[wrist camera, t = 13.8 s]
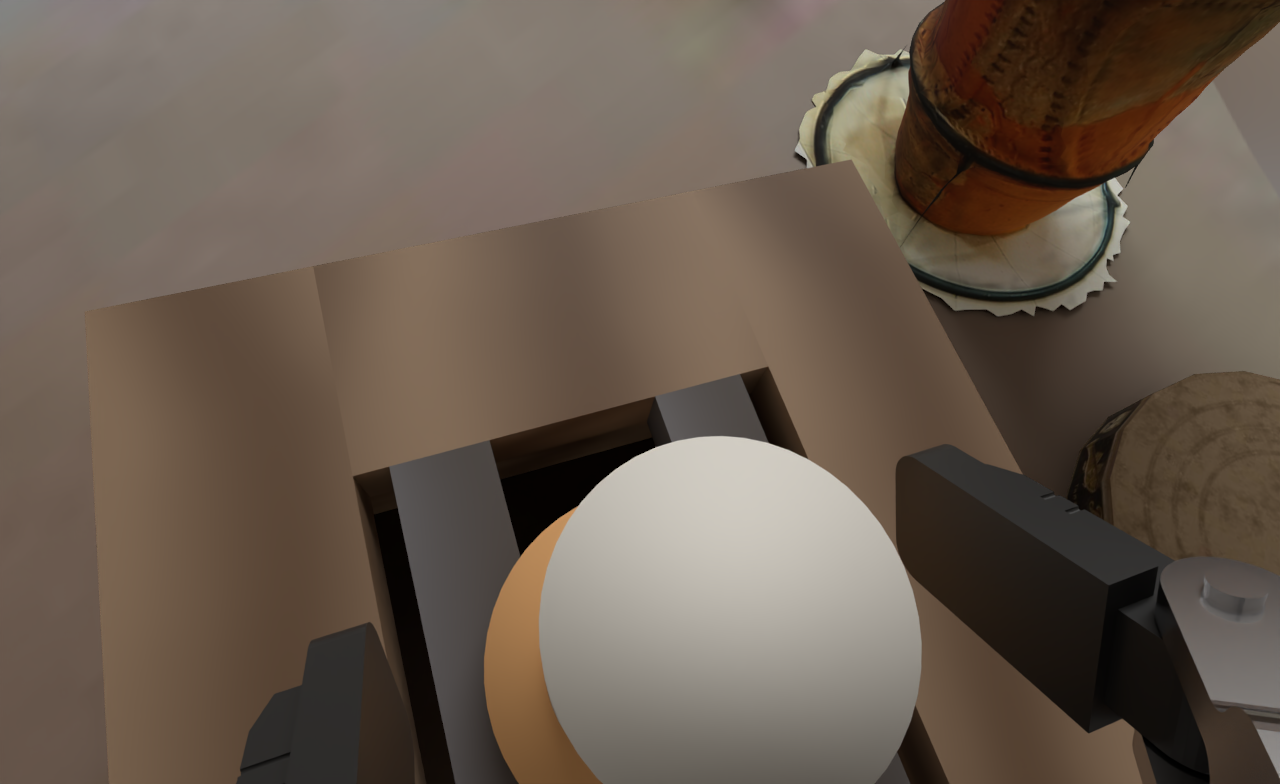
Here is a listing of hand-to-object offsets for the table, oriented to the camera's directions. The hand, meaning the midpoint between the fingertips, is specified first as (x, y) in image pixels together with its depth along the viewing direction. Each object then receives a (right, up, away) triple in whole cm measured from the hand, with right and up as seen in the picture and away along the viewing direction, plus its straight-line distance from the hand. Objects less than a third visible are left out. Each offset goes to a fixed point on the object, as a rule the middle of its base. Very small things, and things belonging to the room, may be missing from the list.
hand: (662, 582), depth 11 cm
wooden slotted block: (-2, -6, +16) cm, 17 cm away
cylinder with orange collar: (-1, -6, +11) cm, 13 cm away
